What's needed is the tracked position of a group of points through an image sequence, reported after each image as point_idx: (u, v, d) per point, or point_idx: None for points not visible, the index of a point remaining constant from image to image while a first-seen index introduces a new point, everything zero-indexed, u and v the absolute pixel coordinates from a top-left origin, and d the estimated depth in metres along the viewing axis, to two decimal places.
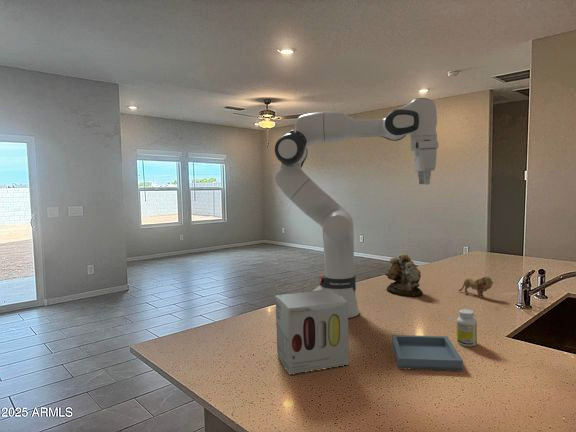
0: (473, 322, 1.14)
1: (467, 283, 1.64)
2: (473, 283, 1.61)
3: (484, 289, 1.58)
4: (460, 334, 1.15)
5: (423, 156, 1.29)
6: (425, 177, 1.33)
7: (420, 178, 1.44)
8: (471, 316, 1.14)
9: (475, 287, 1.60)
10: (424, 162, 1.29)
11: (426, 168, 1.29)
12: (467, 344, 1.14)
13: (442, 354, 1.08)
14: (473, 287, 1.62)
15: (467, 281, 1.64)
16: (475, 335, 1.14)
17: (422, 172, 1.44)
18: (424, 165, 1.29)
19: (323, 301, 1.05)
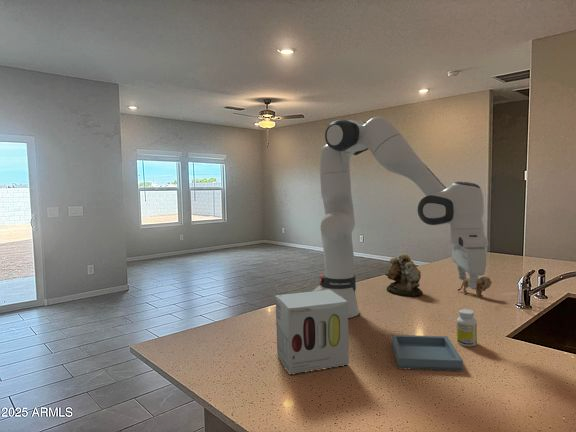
0: (473, 322, 1.14)
1: (466, 283, 1.65)
2: None
3: (483, 289, 1.58)
4: (460, 334, 1.15)
5: (470, 258, 1.05)
6: (471, 280, 1.09)
7: (461, 272, 1.20)
8: (471, 316, 1.14)
9: None
10: (471, 266, 1.05)
11: (474, 273, 1.05)
12: (467, 344, 1.14)
13: (442, 354, 1.08)
14: None
15: (466, 281, 1.65)
16: (475, 335, 1.14)
17: None
18: (471, 269, 1.05)
19: (323, 301, 1.05)
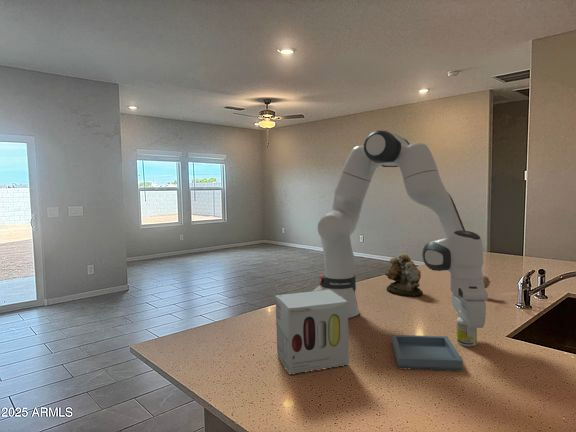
0: None
1: None
2: None
3: None
4: (460, 334, 1.15)
5: (469, 311, 1.06)
6: (469, 329, 1.12)
7: None
8: None
9: None
10: (471, 318, 1.06)
11: (473, 325, 1.06)
12: (467, 344, 1.14)
13: (442, 354, 1.08)
14: None
15: None
16: (475, 335, 1.14)
17: None
18: (471, 322, 1.06)
19: (323, 301, 1.05)
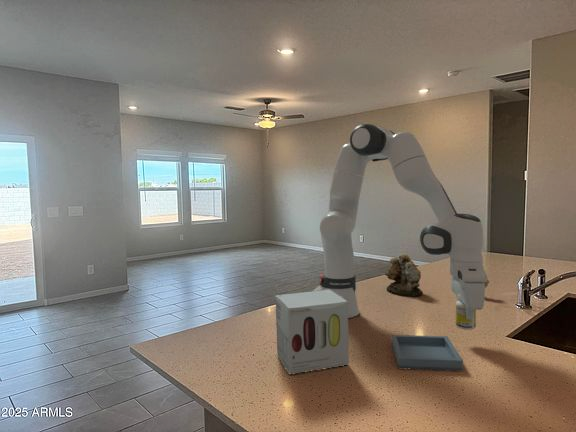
0: None
1: None
2: None
3: None
4: (459, 317, 1.15)
5: (468, 292, 1.06)
6: (468, 311, 1.11)
7: None
8: None
9: None
10: (470, 300, 1.06)
11: (472, 307, 1.06)
12: (466, 327, 1.14)
13: (442, 354, 1.08)
14: None
15: None
16: (474, 318, 1.14)
17: None
18: (469, 304, 1.06)
19: (323, 301, 1.05)
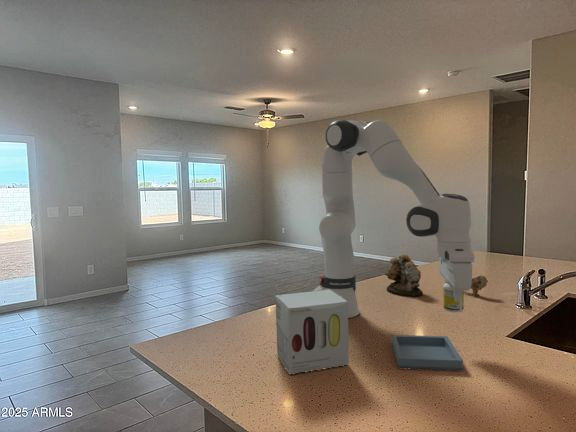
0: None
1: None
2: None
3: (479, 288, 1.60)
4: (447, 300, 1.12)
5: (455, 273, 1.03)
6: (455, 293, 1.08)
7: None
8: None
9: (471, 285, 1.63)
10: (457, 281, 1.03)
11: (459, 288, 1.03)
12: (453, 310, 1.11)
13: (442, 354, 1.08)
14: None
15: None
16: (462, 301, 1.11)
17: None
18: (457, 284, 1.03)
19: (323, 301, 1.05)
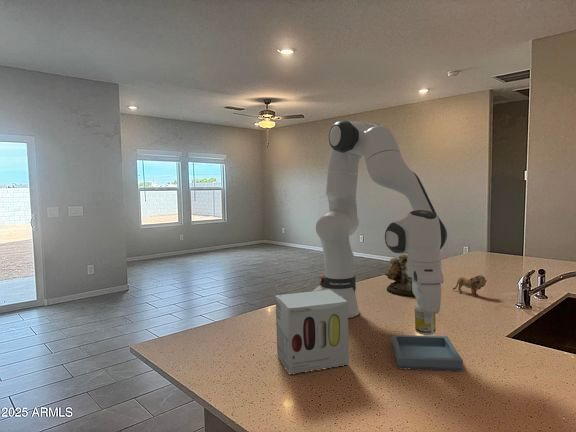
0: None
1: (461, 282, 1.67)
2: (467, 281, 1.64)
3: (478, 287, 1.60)
4: (418, 322, 1.07)
5: (424, 295, 0.98)
6: (425, 315, 1.03)
7: None
8: None
9: (469, 285, 1.63)
10: (425, 303, 0.98)
11: (428, 311, 0.98)
12: (425, 332, 1.06)
13: (442, 354, 1.08)
14: (467, 285, 1.64)
15: (461, 280, 1.67)
16: (433, 323, 1.06)
17: None
18: (425, 307, 0.98)
19: (323, 301, 1.05)
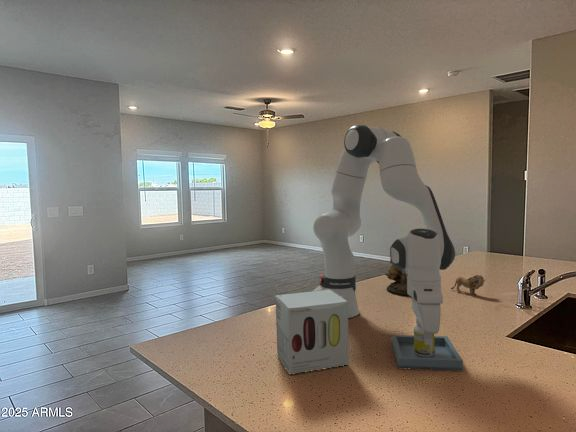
0: None
1: (459, 281, 1.68)
2: (466, 281, 1.65)
3: (476, 287, 1.61)
4: (417, 344, 1.07)
5: (423, 315, 0.98)
6: (426, 336, 1.02)
7: None
8: None
9: (468, 285, 1.64)
10: (424, 323, 0.98)
11: (427, 331, 0.98)
12: (424, 354, 1.06)
13: (442, 354, 1.08)
14: (465, 285, 1.65)
15: (459, 279, 1.68)
16: (432, 345, 1.07)
17: None
18: (424, 327, 0.98)
19: (323, 301, 1.05)
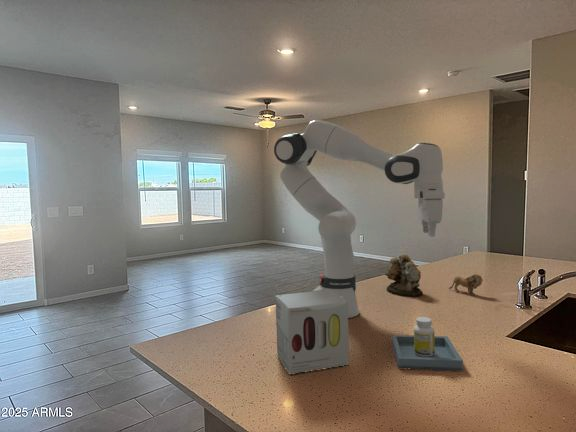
0: (430, 331, 1.06)
1: (457, 281, 1.68)
2: (464, 280, 1.66)
3: (474, 286, 1.62)
4: (417, 344, 1.07)
5: (428, 208, 1.19)
6: (430, 229, 1.23)
7: (424, 226, 1.34)
8: (428, 324, 1.06)
9: (466, 284, 1.65)
10: (429, 214, 1.19)
11: (431, 221, 1.19)
12: (424, 354, 1.06)
13: (442, 354, 1.08)
14: (463, 285, 1.66)
15: (457, 279, 1.68)
16: (432, 345, 1.07)
17: None
18: (429, 217, 1.19)
19: (323, 301, 1.05)
